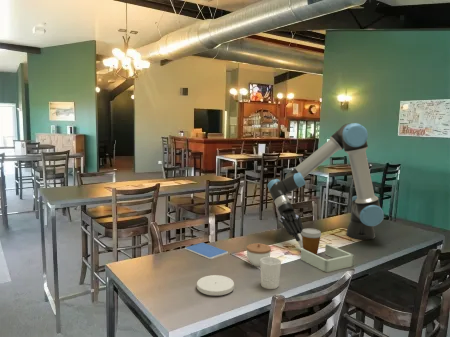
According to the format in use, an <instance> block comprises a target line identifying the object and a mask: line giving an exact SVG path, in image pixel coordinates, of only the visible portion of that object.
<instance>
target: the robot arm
mask: <svg viewBox="0 0 450 337" xmlns="http://www.w3.org/2000/svg"><path fill="white" fill-rule="evenodd" d="M368 137H369V133H368V130H367V128H366V127H365V126H363V125H362V124H360V123H359V122H354V123H353V122H352V123H351V122H350V123H345V124H343V125H342V126H340V127H339V128H338V130H336V131H335V132H334V133H333V134H332V135H331V136H329V139H328V140H327V141H325V143H324V144H322V145H321V146H320V147H319V148H318V149H316V150H315V151H314V152H312V154H310V155H309V156H307V158H305V159H304V160H303V161H301V163H299V164H298V165H297V166H295V167H294V168H293V169H292V170H290V171H288V172H287V173H286V174H285V176H284V179H282V180H280V179H279V178H275V179H272V180H270V181H269V182H268V183H267V188H268V191H269V193H270V196H271V198H272V201H273V202H274V204H275V206H276V208H277V211H278V213H279V215H280V218H279V220H278V222H279V223H281V225H282V226H283V227H284V229H285V230H286V232H287V233H288V235H289V236H292V237H293V238H294V239H295V240H296V242H297V243H298V245H299V248H300V249H303V241H302V234H301V232H302V230H303V229H304V225H303V222H302V217H301V214H299V215H297V213H296V212H295V211H294V206H293V205H292V203H291V201H290V199H289V197H288V195H287V194H289V193H291V192H293V191H296V190H297V189H300V188H301V187H303V186H305V185H306V184H307V183H306V181H305V177H307V176H308V175H309V174H311V173H312V172H313V171H314V170H315V169H317V168H318V167H319V166H320V165H322V164H323V163H325V162H326V161H328V159H330V158H331V157H332V156H333V155H334V154H335V153H337V152H338V151H342V150H343V151H344V152H345V153H346V154H347V155H348V160H349V164H350V169H351V174H352V179H353V184H354V187H355V188H354V189H355V192H356V193H355V194H356V195H353V196H352V197H351V208H350V222H349V225H348V226H347V229H346V235H347V236H348V237H349V238H352V239H355V240H357V239H358V240H362V241H363V240H365V241H367V240H368V241H369V240H374V239H375V237H376V233H375V228H374V227H376V226H378V225H380V224H381V223H382V221H383V220H384V219H385V218H384V217H385V213H384V210H383V209H382V207H381V205H380V201H379V197H378V196H376V195H375V191H374V186H373V181H372V176H371V173H370V166H369V162H368V161H369V160H368V157H367V152H366V151H367V150H368V148H369V145H368Z"/></svg>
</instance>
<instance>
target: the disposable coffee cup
mask: <svg viewBox="0 0 450 337" xmlns="http://www.w3.org/2000/svg"><path fill="white" fill-rule="evenodd" d="M301 234H302V241H303V248H302V249H305V250H307V251H309V252H311V253H313V254H316V255H318V252H319V245H320V241H321V237H322V232H321V230H319V229H318V228H317V229H316V228H310V227H309V228H303V230H302V232H301Z"/></svg>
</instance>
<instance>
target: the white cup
mask: <svg viewBox="0 0 450 337" xmlns="http://www.w3.org/2000/svg"><path fill="white" fill-rule="evenodd" d="M281 267H282V260H281V259H279V258H277V257H273V256H270V257H264V258H262V259H261V260H260V270H259V271H260V285H261V287H262V288H263V289H266V290H267V289H268V290H274V289H275V290H277V288H279V286H280V277H281V276H280V275H281Z"/></svg>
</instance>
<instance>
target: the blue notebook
mask: <svg viewBox="0 0 450 337" xmlns="http://www.w3.org/2000/svg"><path fill="white" fill-rule="evenodd" d="M184 250H186V251H188V252H191V253H193V254H196V255H199V256H201V257H204V258H206V259H208V260H212V259H216V258H219V257H222V256H225V255H228V254H229V251H227V250H224V249H223V248H222V249H221V248H219V247H217V246H216V247H215V246H213V245H211V244H207V243H205V242H199V243H196V244H191V245H190V246H185V247H184Z"/></svg>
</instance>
